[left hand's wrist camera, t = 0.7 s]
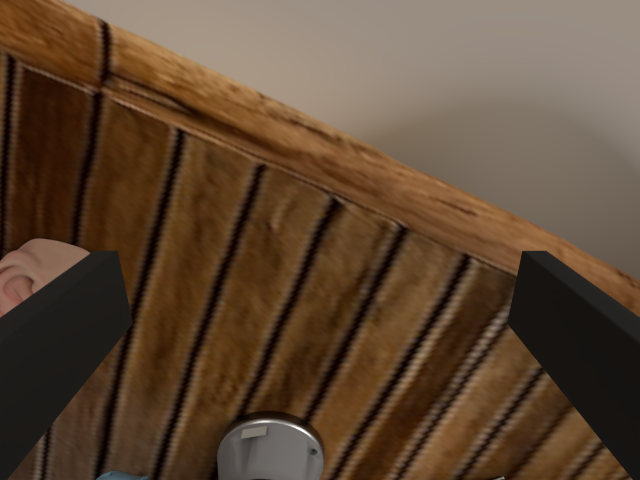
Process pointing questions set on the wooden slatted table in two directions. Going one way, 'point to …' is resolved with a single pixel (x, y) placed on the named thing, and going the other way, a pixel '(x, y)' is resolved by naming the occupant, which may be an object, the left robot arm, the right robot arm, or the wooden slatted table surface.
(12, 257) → the anatomical model
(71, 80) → the wooden slatted table surface
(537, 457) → the wooden slatted table surface
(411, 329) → the wooden slatted table surface
